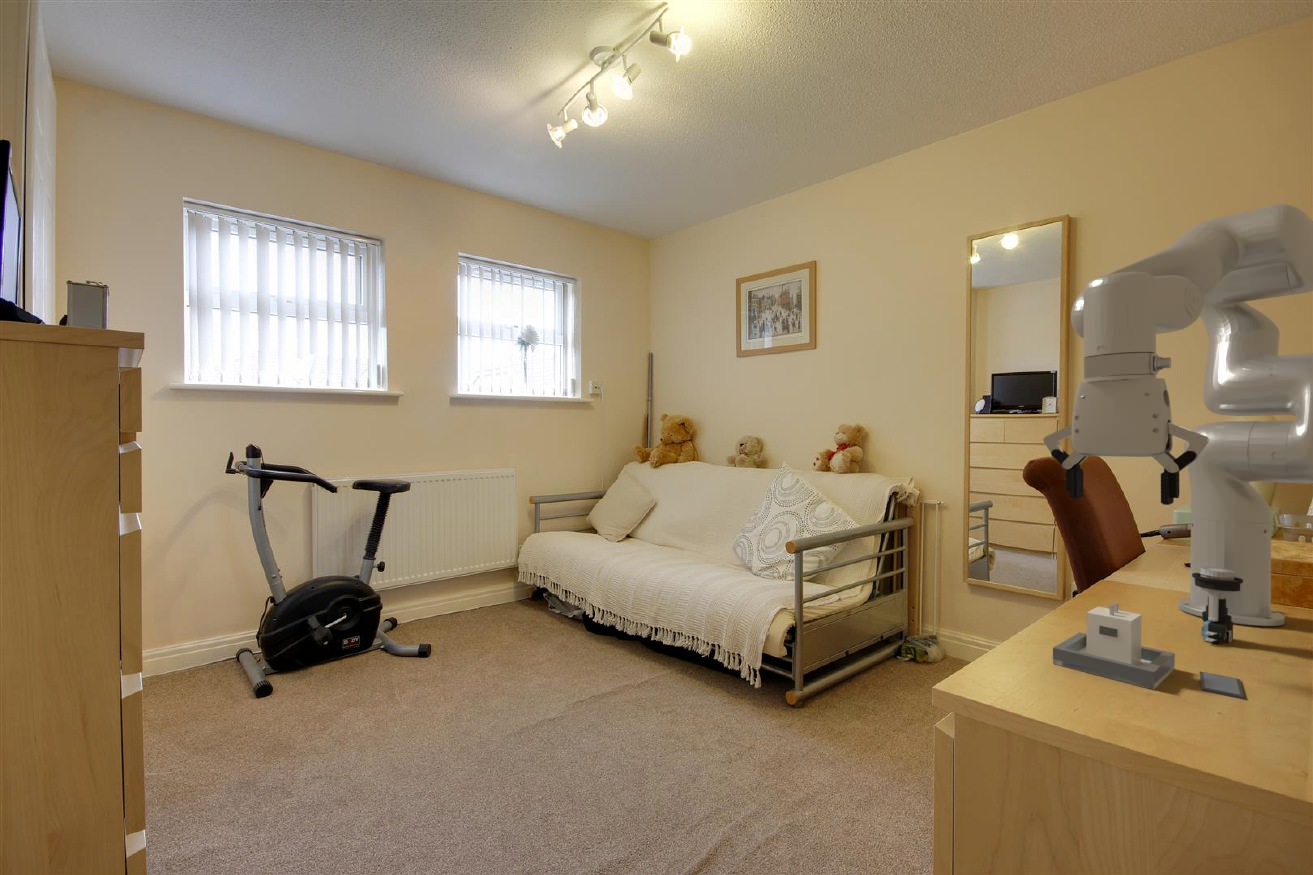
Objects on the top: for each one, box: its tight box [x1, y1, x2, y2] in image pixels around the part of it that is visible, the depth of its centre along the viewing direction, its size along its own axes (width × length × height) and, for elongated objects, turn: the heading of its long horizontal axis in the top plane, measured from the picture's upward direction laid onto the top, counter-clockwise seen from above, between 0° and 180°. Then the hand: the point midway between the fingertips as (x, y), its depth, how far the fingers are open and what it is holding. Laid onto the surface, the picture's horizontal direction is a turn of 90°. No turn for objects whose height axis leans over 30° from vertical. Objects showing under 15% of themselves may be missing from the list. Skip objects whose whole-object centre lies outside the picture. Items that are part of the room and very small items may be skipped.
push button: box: [1192, 567, 1243, 645], centre depth 85 cm, size 7×5×10 cm
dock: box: [1052, 632, 1176, 691], centre depth 75 cm, size 10×10×2 cm
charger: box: [1086, 601, 1142, 666], centre depth 75 cm, size 5×4×7 cm
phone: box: [1199, 671, 1246, 700], centre depth 70 cm, size 7×4×1 cm, turn 139°
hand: (1120, 500), depth 79 cm, fingers open, 9 cm apart
